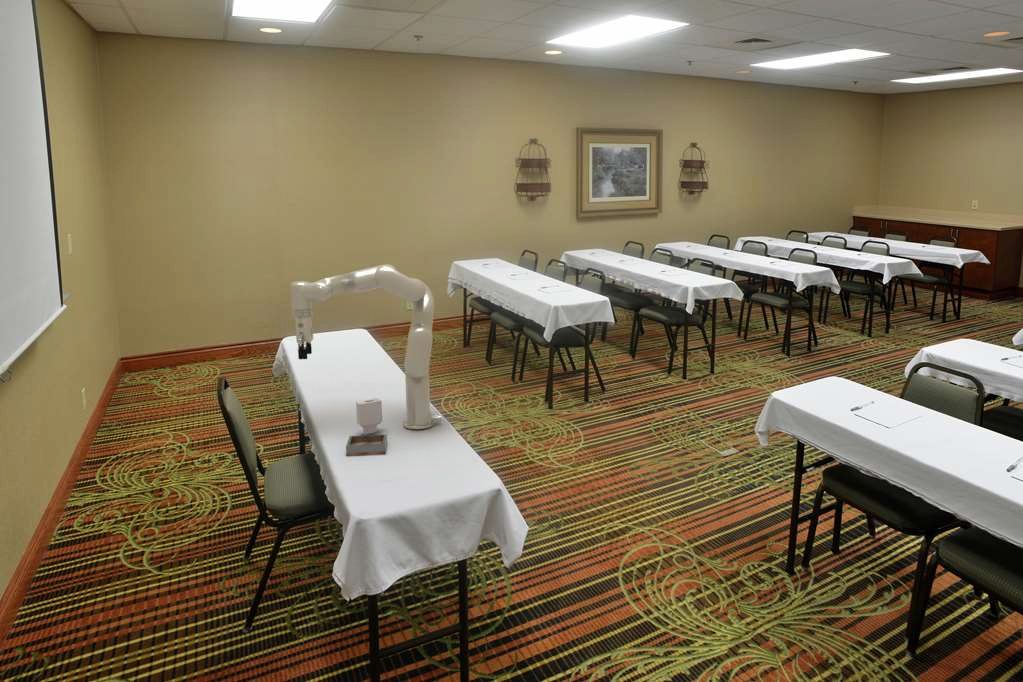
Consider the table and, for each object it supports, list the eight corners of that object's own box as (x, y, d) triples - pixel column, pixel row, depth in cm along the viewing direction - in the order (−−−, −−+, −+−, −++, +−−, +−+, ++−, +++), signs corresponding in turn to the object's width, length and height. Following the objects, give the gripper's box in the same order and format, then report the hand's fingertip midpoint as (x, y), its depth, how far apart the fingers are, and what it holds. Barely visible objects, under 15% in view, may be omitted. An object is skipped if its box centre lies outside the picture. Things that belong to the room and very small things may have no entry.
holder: (387, 443, 255) (386, 434, 254) (385, 454, 243) (384, 444, 243) (350, 445, 253) (349, 435, 253) (346, 456, 242) (345, 446, 241)
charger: (383, 436, 263) (382, 400, 260) (361, 441, 258) (359, 404, 255) (379, 433, 266) (377, 397, 264) (357, 437, 262) (355, 401, 259)
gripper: (308, 316, 248) (311, 360, 251) (316, 310, 265) (318, 351, 268) (287, 317, 247) (291, 361, 250) (296, 310, 264) (299, 352, 267)
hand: (305, 356), depth 259 cm, fingers open, 9 cm apart
